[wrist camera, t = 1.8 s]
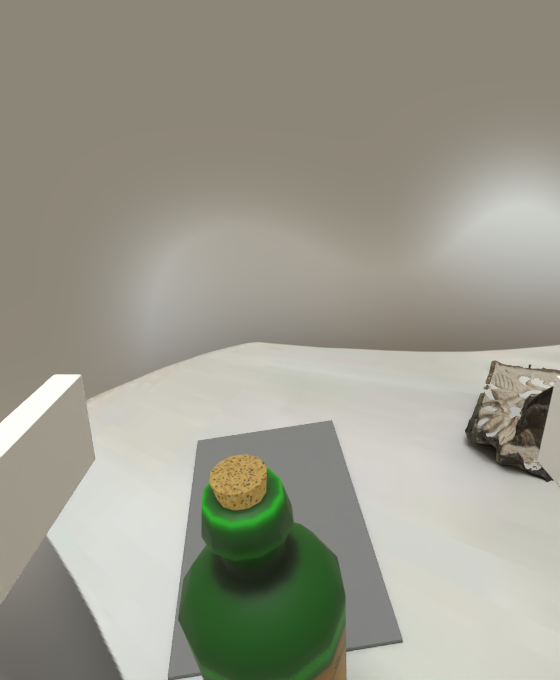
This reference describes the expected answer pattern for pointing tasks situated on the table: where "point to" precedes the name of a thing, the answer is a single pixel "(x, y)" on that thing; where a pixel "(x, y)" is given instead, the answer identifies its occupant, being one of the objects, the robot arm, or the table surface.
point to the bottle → (261, 585)
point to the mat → (312, 512)
